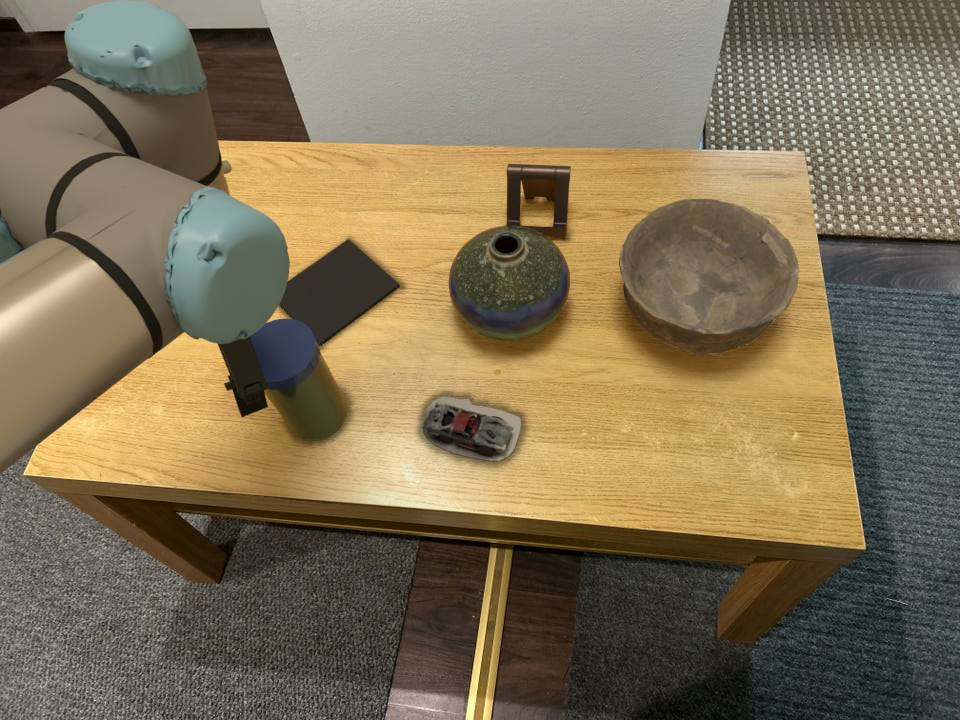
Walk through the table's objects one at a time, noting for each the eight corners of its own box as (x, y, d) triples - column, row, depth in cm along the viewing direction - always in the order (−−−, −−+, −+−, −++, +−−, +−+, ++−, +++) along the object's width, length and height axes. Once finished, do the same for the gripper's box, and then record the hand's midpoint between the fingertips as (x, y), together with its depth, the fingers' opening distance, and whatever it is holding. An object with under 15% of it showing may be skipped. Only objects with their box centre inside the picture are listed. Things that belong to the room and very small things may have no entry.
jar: (310, 452, 84) (269, 395, 71) (276, 413, 87) (231, 352, 75) (359, 413, 86) (328, 351, 74) (324, 376, 89) (289, 311, 77)
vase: (454, 269, 97) (441, 201, 85) (563, 261, 96) (566, 191, 85) (454, 362, 89) (441, 300, 77) (574, 354, 88) (578, 291, 76)
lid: (273, 405, 72) (267, 396, 71) (232, 358, 76) (226, 349, 74) (335, 357, 75) (330, 348, 73) (293, 314, 78) (288, 305, 77)
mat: (319, 346, 92) (318, 344, 91) (270, 296, 97) (269, 294, 96) (400, 286, 96) (399, 283, 95) (349, 241, 101) (348, 238, 101)
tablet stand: (504, 237, 99) (500, 195, 92) (510, 197, 103) (508, 154, 96) (565, 241, 98) (567, 198, 91) (569, 200, 102) (571, 156, 95)
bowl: (623, 241, 97) (630, 189, 88) (776, 258, 93) (799, 206, 85) (603, 364, 87) (609, 319, 78) (774, 390, 83) (800, 345, 74)
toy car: (518, 463, 81) (517, 452, 78) (418, 457, 82) (413, 446, 79) (522, 400, 85) (522, 387, 82) (427, 395, 86) (423, 383, 84)
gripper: (288, 301, 51) (311, 438, 68) (182, 108, 62) (225, 268, 79) (185, 336, 48) (236, 470, 65) (93, 128, 59) (158, 289, 77)
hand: (230, 360), depth 72 cm, fingers open, 13 cm apart
